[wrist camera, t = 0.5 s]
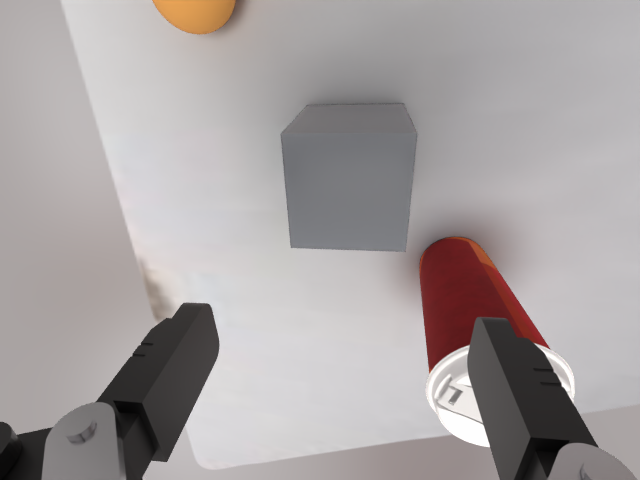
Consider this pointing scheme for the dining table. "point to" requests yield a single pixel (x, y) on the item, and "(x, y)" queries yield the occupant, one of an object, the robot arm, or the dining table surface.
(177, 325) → the robot arm
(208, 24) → the ball
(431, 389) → the paper cup
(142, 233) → the dining table surface
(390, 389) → the dining table surface
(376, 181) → the gray cube
